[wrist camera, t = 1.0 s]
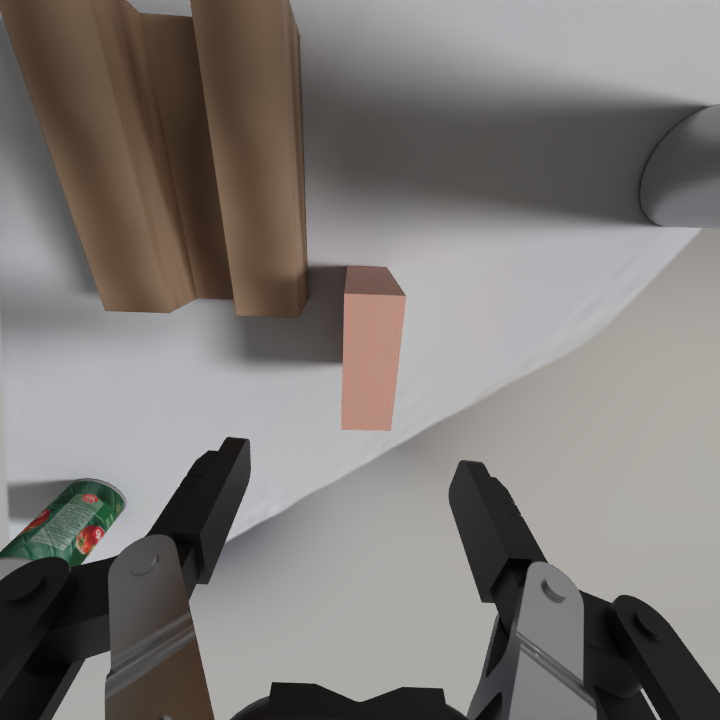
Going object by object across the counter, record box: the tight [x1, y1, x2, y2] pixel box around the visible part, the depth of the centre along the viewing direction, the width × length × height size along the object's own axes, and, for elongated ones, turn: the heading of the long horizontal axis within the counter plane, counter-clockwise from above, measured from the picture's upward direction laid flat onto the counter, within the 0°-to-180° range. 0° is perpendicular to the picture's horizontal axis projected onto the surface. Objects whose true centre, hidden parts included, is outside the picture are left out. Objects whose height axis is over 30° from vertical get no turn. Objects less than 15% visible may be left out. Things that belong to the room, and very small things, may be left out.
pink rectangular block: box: [341, 266, 406, 431], centre depth 27 cm, size 4×11×12 cm, turn 178°
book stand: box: [0, 0, 309, 318], centre depth 23 cm, size 16×20×6 cm
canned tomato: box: [0, 479, 126, 580], centre depth 38 cm, size 8×8×11 cm
